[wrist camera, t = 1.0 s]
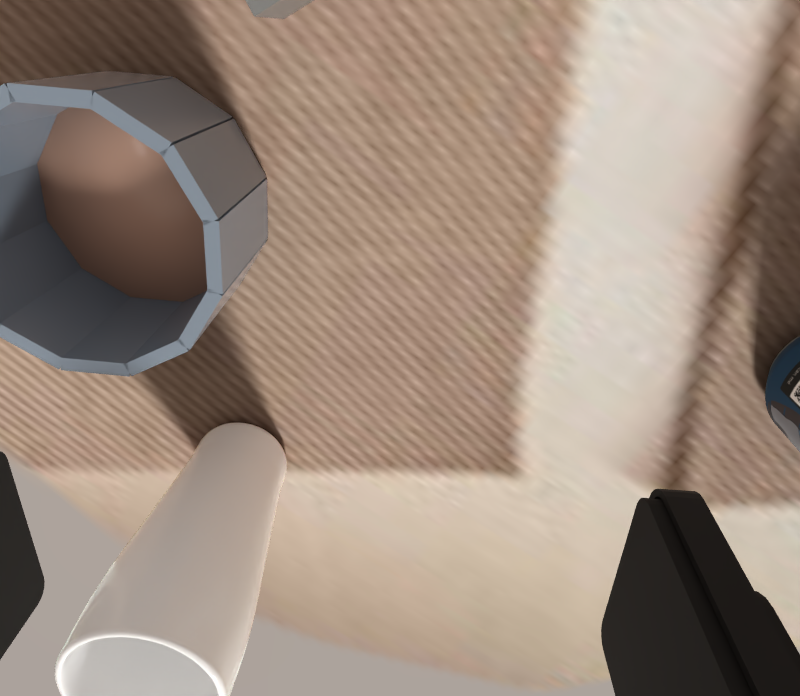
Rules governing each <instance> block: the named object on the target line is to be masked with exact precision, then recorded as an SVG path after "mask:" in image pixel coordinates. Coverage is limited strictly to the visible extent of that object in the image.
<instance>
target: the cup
mask: <svg viewBox="0 0 800 696" xmlns="http://www.w3.org/2000/svg"><path fill="white" fill-rule="evenodd" d="M231 119H232V116H231V115H229V114H228V113H226V112H225V111H223V110H222V109H221V108H219V107H218V106H216V105H215V104H213V103H212V102H210V101H209V100H207V99H206V98H205V97H203V96H202V95H200V94H199V93H197V92H196V91H194V90H193V89H191V88H190V87H189V86H187V85H186V84H184V83H183V82H181V81H180V80H178V79H177V78H173V77H172V76H161V75H150V74H139V73H128V72H117V71H102V72H94V73H86V74H77V75H69V76H60V77H52V78H44V79H35V80H27V81H18V82H10V83H4V84H2V85H1V86H0V337H1V338H3V339H4V340H6V341H8V342H10V343H12V344H14V345H15V346H17V347H19V348H21V349H23V350H25V351H26V352H28V353H30V354H32V355H34V356H36V357H37V358H39V359H41V360H43V361H45V362H46V363H48V364H50V365H52V366H54V367H56V368H57V369H60V368H61V370H66V371H77V372H88V373H98V374H109V375H120V376H130V375H131V376H133V375H135V374H138V373H140V372H142V371H145V370H147V369H149V368H151V367H154V366H156V365H158V364H160V363H163V362H165V361H167V360H170V359H172V358H174V357H176V356H179V355H181V354H183V353H185V352H188V351H189V350H190V349H191V348H192V347H193V345H194V344H195V343H196V341H197V340H198V339H199V337H200V336H201V335H202V334H203V332H204V331H205V330H206V328H207V327H208V326H209V324H210V323H211V322H212V320H213V319H214V318H215V317H216V315H217V314H218V313H219V311H220V310H221V309H222V307H223V306H224V305H225V303H226V302H227V301H228V300H229V298H230V297H231V296H232V294H233V293H234V292H235V290H236V289H237V288H238V286H239V285H240V284H241V282H242V281H243V279H244V277H245V276H246V274H247V272H248V271H249V269H250V267H251V266H252V264H253V263H254V261H255V259H256V258H257V256H258V254H259V253H260V251H261V249H262V248H263V246H264V245H265V243H266V241H267V238H268V208H267V179H265V178H266V175H265V173H264V172H263V170H262V168H261V166H260V164H259V163H258V161H257V159H256V157H255V155H254V154H253V152H252V150H251V148H250V146H249V144H248V143H247V141H246V139H245V137H244V135H243V134H242V132H241V130H240V128H239V126H238V125H237V123H236V121H235V119H232V120H231Z"/></svg>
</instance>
